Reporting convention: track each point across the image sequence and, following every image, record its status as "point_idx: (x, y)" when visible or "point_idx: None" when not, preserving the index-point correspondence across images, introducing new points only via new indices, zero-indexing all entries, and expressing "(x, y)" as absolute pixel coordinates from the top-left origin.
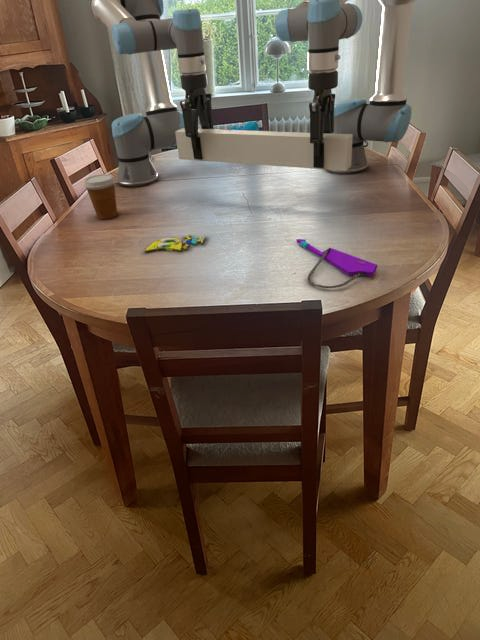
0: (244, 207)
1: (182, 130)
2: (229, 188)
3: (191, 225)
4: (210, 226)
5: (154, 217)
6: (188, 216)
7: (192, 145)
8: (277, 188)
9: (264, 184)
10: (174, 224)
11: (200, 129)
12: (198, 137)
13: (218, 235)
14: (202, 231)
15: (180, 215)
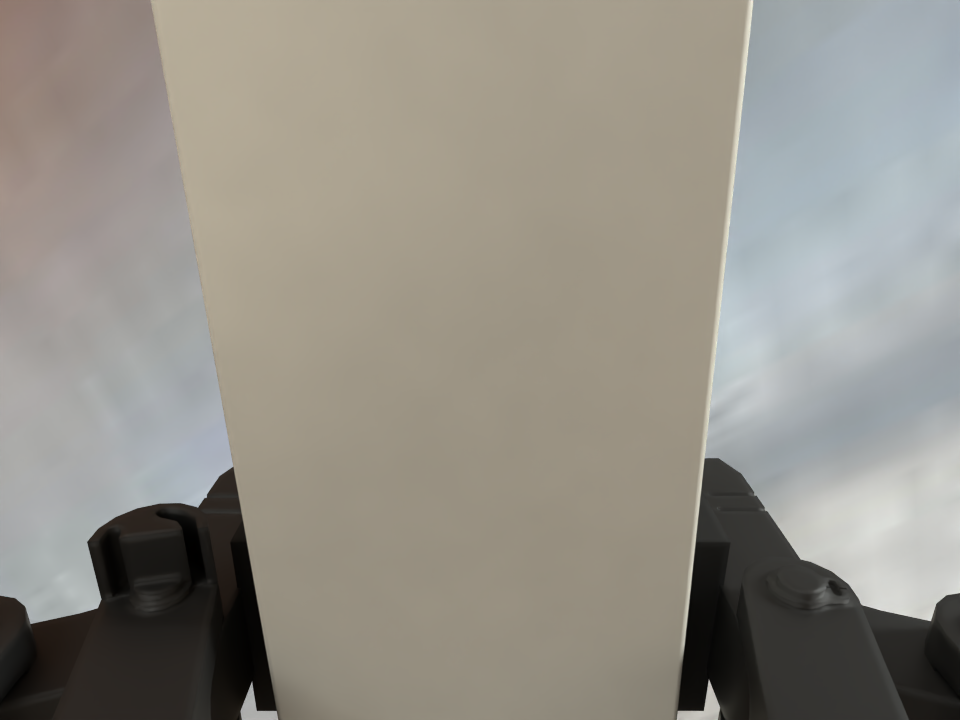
0: None
1: (369, 161)
2: (827, 249)
3: (60, 392)
4: (112, 506)
5: (19, 13)
6: (175, 280)
7: (211, 505)
8: (857, 572)
9: (942, 460)
10: (8, 272)
11: (601, 674)
12: (259, 705)
13: (36, 604)
14: (27, 502)
15: (161, 208)
